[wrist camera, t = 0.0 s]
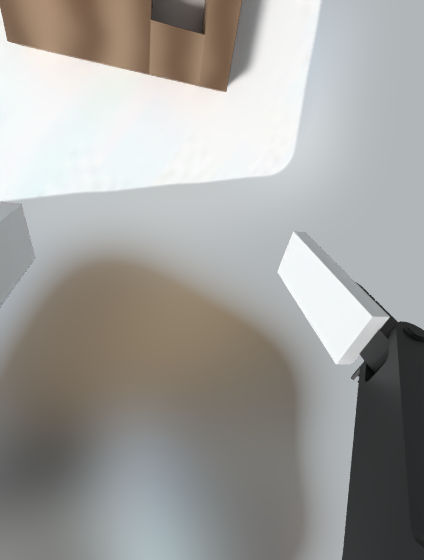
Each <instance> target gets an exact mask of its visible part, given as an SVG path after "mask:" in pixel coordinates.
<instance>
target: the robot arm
mask: <svg viewBox="0 0 424 560" xmlns="http://www.w3.org/2000/svg"><path fill="white" fill-rule="evenodd" d="M34 259H35V254H34V251H33V246H32V243H31V239H30V235H29V231H28V227H27V223H26V220H25V216H24V212H23V208H22V204H18V203H9V202H0V307H1V306H2V304H3V303H4V301H5V300H6V299H7V297H8V296H9V294H10V293H11V292H12V290H13V289H14V287H15V286H16V284H17V283H18V282H19V281H20V279H21V278H22V276H23V275H24V273H25V272H26V271H27V269H28V268H29V267H30V265H31V264H32V262H33V261H34ZM278 274H279V275H280V277H281V278H282V280H283V282H284V283H285V284H286V286H287V288H288V289H289V291H290V293H291V294H292V296H293V297H294V299H295V301H296V302H297V304H298V305H299V307H300V308H301V310H302V311H303V313H304V315H305V316H306V318H307V319H308V321H309V323H310V324H311V326H312V327H313V329H314V330H315V332H316V334H317V335H318V337H319V338H320V340H321V341H322V343H323V345H324V346H325V348H326V349H327V351H328V352H329V354H330V356H331V357H332V359H333V360H334V362H335V363H336V364H338V365H339V364H352V363H353V362H354V361H355V359H356V358H357V357H358V356H359V355H361V357H362V358H363V359H364V362H363V364H362V365H361V366H360V367H359V368H358V369H357V371H356V372H355V373H354V374H353V376H352V377H351V379H353V380H354V379H355V378H356V377H357V376H359V381H358V383H359V387H358V396H357V407H356V418H355V429H354V440H353V450H352V462H351V472H350V483H349V493H348V504H347V515H346V527H345V537H344V548H343V556H342V560H424V330H422V329H421V328H419V327H417V326H415V325H413V324H410V323H407V322H397V321H396V320H395V319H394V318H393V317H392V316H391V315H390V314H389V313H388V312H387V311H386V310H385V309H384V308H383V307H382V306H381V305H380V304H379V303H378V302H377V301H375V299H374V298H373V297H372V296H371V295H369V293H368V292H367V291H366V290H365V289H364V288H363V287H362V286H360V285H359V284H358V283H356V282H355V281H354V280H352V279H351V278H350V276H349V275H348V274H347V273H346V272H345V271H344V270H342V268H341V267H340V266H339V265H338V264H337V263H336V262H334V260H333V259H332V258H331V257H330V256H329V255H328V254H327V253H326V252H325V251H324V250H323V249H322V248H321V247H319V245H318V244H317V243H316V242H315V241H314V240H313V239H312V238H311V237H310V236H309V235H308V234H307V233H305V232H293V234H292V236H291V239H290V241H289V244H288V247H287V249H286V251H285V254H284V257H283V259H282V262H281V264H280V267H279V269H278Z"/></svg>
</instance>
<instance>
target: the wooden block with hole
mask: <svg viewBox="0 0 424 560" xmlns="http://www.w3.org/2000/svg"><path fill="white" fill-rule="evenodd" d="M241 3H242V0H205V6H204V15H203V23H202V32H201V34H200V33H196V32H193V31H189V30H186V29H182V28H178V27H175V26H171V25H168V24H164V23H161V22H157V21H154V20H152V0H0V8H1V12H2V17H3V22H4V27H5V31H6V36H7V41H9V42H12V43H16V44H19V45H22V46H27V47H31V48H35V49H40V50H44V51H48V52H53V53H57V54H61V55H66V56H70V57H74V58H79V59H83V60H87V61H92V62H96V63H100V64H105V65H109V66H113V67H118V68H122V69H126V70H131V71H135V72H139V73H144V74H148V75H152V76H157V77H161V78H165V79H170V80H174V81H178V82H183V83H187V84H191V85H196V86H200V87H204V88H209V89H213V90H217V91H223V92H226V90H227V85H228V79H229V73H230V67H231V61H232V56H233V50H234V44H235V38H236V32H237V26H238V21H239V15H240V9H241Z"/></svg>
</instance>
